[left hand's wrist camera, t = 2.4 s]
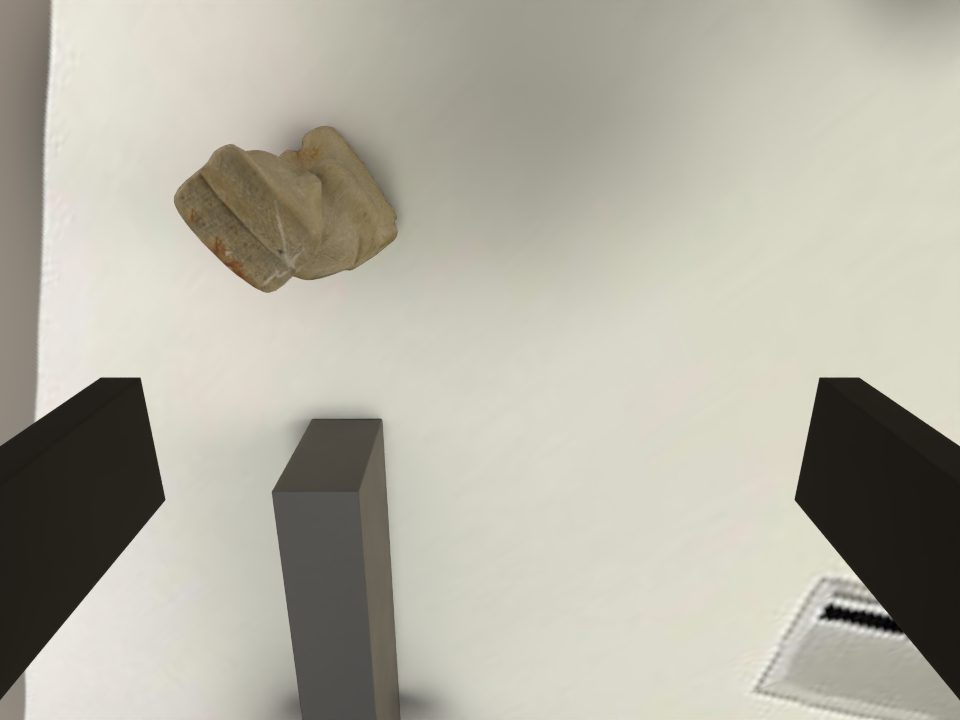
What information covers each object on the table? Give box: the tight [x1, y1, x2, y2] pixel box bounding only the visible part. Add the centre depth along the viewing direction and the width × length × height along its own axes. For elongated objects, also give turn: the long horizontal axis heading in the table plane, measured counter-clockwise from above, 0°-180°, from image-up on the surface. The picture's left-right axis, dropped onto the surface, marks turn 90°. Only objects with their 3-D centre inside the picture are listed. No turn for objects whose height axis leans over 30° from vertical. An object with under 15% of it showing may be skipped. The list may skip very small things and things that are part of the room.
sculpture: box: [174, 126, 397, 293], centre depth 30 cm, size 6×7×15 cm
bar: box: [272, 420, 400, 720], centre depth 43 cm, size 28×5×9 cm, turn 0°
